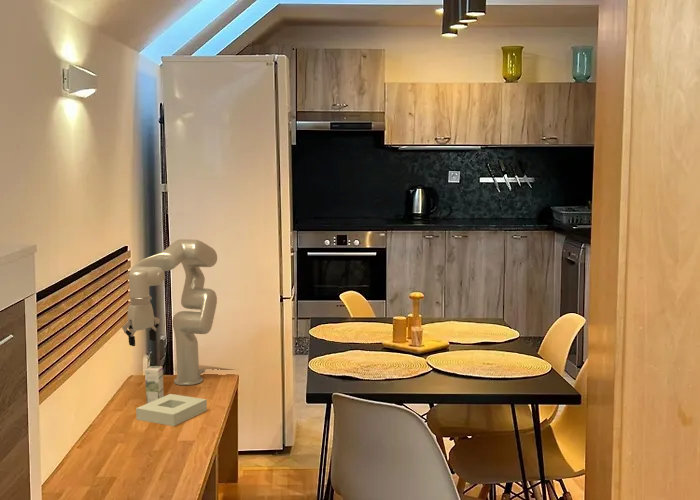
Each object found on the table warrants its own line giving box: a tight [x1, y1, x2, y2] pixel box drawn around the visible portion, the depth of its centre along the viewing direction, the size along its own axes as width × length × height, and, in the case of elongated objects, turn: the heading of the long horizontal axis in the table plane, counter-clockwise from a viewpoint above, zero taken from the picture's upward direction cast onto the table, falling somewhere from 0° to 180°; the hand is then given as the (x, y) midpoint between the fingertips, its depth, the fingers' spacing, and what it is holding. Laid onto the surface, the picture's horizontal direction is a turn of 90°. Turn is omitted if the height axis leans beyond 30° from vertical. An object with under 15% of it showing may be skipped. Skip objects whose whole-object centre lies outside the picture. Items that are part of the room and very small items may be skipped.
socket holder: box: [135, 393, 208, 427], centre depth 315 cm, size 20×18×4 cm
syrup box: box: [144, 365, 165, 404], centre depth 331 cm, size 6×6×14 cm
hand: (142, 343), depth 326 cm, fingers open, 9 cm apart
